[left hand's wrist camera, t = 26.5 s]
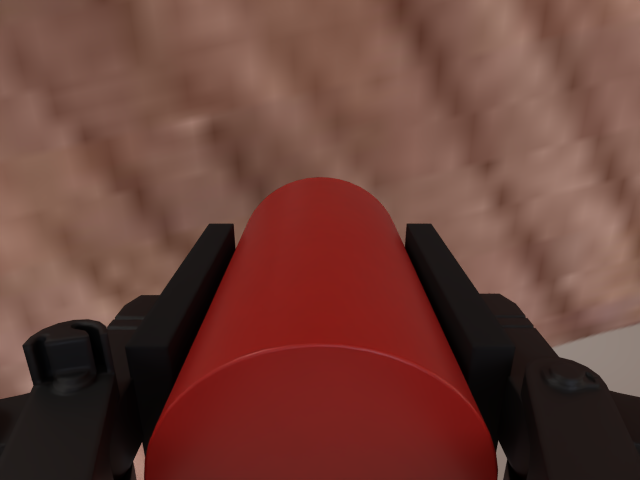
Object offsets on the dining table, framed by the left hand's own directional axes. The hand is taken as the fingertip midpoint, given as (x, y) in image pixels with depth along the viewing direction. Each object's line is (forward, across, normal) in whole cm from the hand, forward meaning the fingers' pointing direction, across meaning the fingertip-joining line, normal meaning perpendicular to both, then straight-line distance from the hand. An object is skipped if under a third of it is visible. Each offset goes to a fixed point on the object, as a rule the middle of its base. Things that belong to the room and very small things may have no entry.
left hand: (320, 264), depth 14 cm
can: (+1, 0, 0) cm, 1 cm away
